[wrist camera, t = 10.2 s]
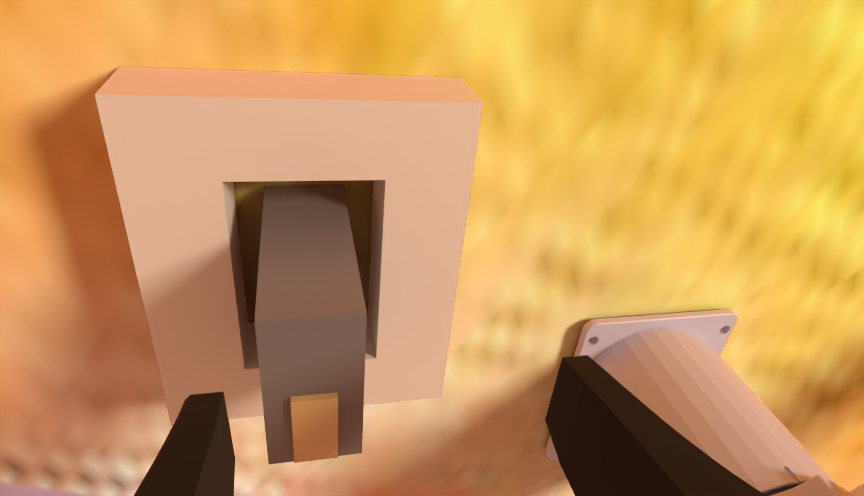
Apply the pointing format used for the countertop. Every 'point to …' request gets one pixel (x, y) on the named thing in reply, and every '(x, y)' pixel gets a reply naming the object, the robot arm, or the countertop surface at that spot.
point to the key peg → (310, 325)
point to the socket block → (289, 161)
